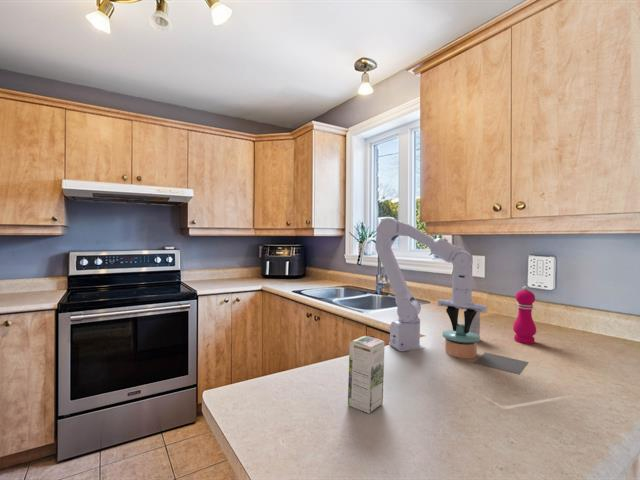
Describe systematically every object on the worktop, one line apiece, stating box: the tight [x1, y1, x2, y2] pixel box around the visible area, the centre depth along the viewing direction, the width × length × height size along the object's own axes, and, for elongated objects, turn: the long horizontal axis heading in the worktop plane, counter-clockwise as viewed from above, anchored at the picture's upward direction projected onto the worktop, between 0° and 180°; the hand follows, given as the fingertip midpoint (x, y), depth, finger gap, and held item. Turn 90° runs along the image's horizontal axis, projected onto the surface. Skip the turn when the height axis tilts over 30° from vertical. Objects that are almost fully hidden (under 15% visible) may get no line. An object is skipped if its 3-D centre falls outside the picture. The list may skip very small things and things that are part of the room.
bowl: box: [444, 338, 478, 359], centre depth 108 cm, size 9×9×4 cm
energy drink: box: [463, 307, 481, 337], centre depth 123 cm, size 5×5×12 cm
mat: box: [472, 351, 529, 375], centre depth 101 cm, size 12×12×1 cm
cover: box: [442, 323, 481, 343], centre depth 108 cm, size 11×11×4 cm
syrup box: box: [347, 335, 386, 414], centre depth 75 cm, size 6×6×14 cm
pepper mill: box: [512, 285, 537, 345], centre depth 123 cm, size 7×7×20 cm
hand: (461, 331), depth 108 cm, fingers closed on cover, 3 cm apart
